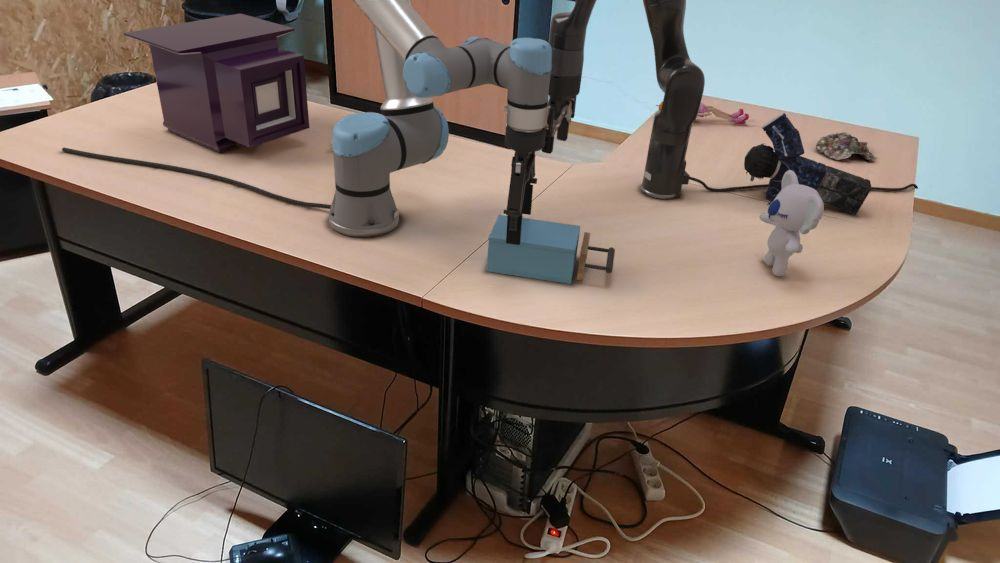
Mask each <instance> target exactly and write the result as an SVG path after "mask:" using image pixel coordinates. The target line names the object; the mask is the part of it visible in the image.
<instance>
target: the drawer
mask: <svg viewBox="0 0 1000 563" xmlns="http://www.w3.org/2000/svg"><path fill="white" fill-rule="evenodd" d="M590 238H591V232H587V231H584V233H583V238H582V242H581V247H580V253H579V260H578V268H577V275H576V280H577V281H583V280H584V275H585V269H593V270H598V271H605V272H606V273H607V274H612V273H613V270H614V261H615V254H616V249H615V248H614V247H609V248H605V247H598V246H590V245H589V243H590ZM589 251H592V252H593V251H594V252H601V253H607V257H606V264H605V266H604V265H597V264H591V263H587V259H588V252H589Z"/></svg>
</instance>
